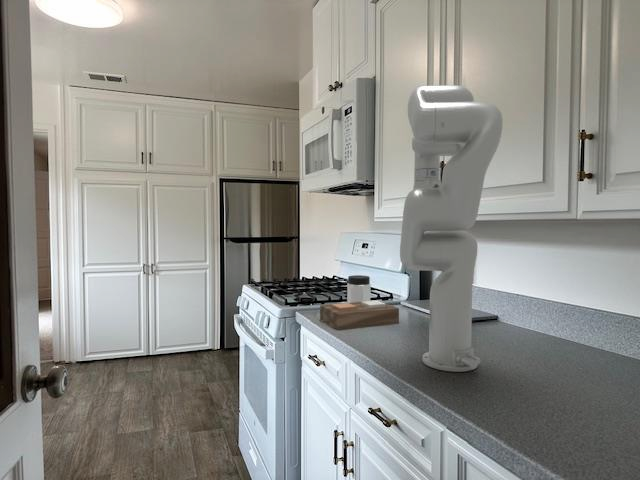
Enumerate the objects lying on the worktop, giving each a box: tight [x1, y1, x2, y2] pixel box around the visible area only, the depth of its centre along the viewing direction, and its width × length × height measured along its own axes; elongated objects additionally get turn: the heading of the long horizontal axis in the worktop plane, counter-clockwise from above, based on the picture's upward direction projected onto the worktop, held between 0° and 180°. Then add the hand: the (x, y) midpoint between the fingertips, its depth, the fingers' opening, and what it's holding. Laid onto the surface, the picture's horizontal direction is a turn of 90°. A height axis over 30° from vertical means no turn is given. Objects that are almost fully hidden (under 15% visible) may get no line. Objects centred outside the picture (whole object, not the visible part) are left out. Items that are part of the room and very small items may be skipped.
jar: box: [346, 274, 372, 303], centre depth 163 cm, size 9×8×12 cm
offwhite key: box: [361, 300, 387, 308], centre depth 143 cm, size 6×6×4 cm
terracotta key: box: [332, 302, 356, 311], centre depth 139 cm, size 6×6×4 cm
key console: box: [319, 301, 400, 331], centre depth 141 cm, size 14×22×5 cm, turn 113°
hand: (425, 234), depth 133 cm, fingers closed
